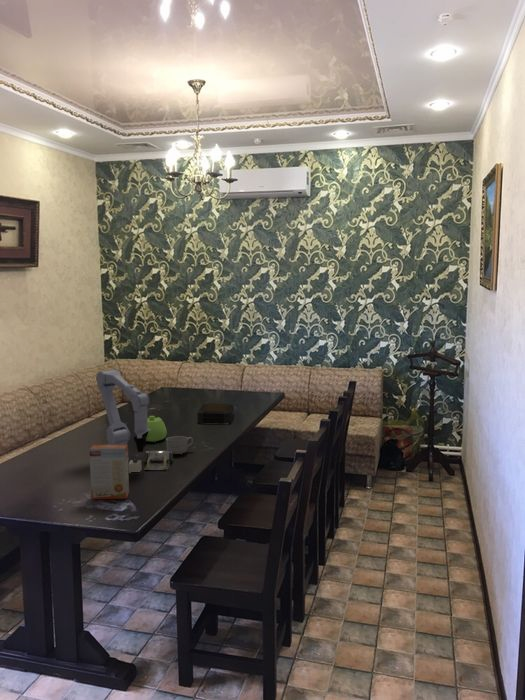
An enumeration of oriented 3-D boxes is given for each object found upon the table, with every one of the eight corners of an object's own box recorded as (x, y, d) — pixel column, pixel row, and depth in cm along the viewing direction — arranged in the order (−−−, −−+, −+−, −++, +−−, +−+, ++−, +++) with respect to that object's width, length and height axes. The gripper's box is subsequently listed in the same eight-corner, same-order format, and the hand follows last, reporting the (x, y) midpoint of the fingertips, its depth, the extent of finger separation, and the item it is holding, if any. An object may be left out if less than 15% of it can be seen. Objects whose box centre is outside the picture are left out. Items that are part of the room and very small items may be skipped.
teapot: (154, 447, 301) (153, 422, 300) (128, 444, 306) (127, 420, 304) (172, 436, 322) (172, 413, 320) (148, 434, 326) (148, 411, 325)
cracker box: (129, 494, 236) (128, 443, 234) (126, 499, 230) (125, 448, 228) (94, 494, 236) (93, 444, 233) (90, 499, 230) (89, 448, 227)
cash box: (230, 425, 348) (230, 412, 347) (196, 424, 349) (196, 411, 348) (234, 415, 373) (234, 403, 372) (203, 414, 374) (203, 403, 373)
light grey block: (128, 473, 262) (128, 461, 261) (130, 469, 267) (130, 457, 266) (140, 473, 262) (139, 461, 261) (141, 469, 267) (141, 457, 266)
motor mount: (142, 470, 264) (142, 458, 264) (146, 460, 279) (146, 449, 279) (170, 470, 265) (170, 458, 265) (172, 460, 280) (172, 448, 280)
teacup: (167, 457, 284) (167, 441, 283) (164, 451, 295) (164, 435, 294) (195, 455, 288) (195, 439, 287) (192, 449, 298) (192, 434, 297)
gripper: (148, 424, 257) (148, 453, 259) (151, 416, 271) (151, 444, 273) (132, 424, 256) (132, 454, 258) (136, 416, 270) (136, 444, 272)
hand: (141, 449), depth 265 cm, fingers open, 7 cm apart
